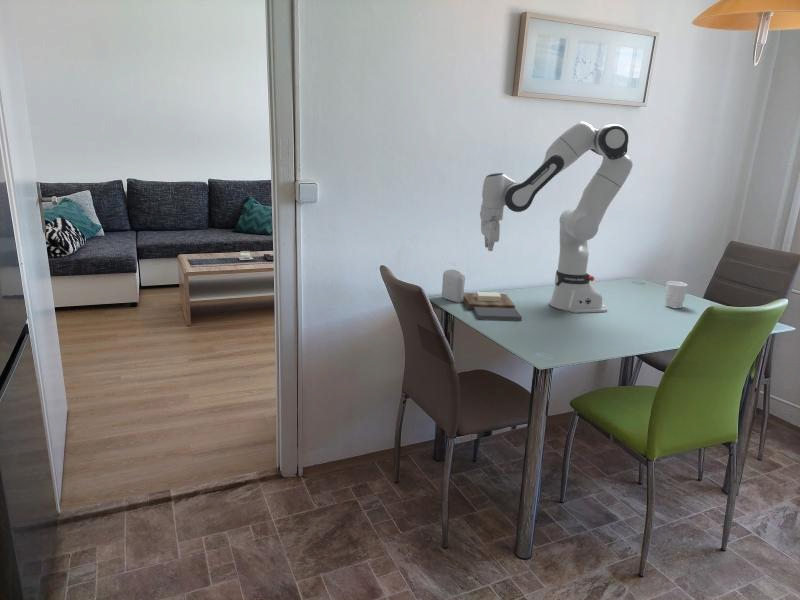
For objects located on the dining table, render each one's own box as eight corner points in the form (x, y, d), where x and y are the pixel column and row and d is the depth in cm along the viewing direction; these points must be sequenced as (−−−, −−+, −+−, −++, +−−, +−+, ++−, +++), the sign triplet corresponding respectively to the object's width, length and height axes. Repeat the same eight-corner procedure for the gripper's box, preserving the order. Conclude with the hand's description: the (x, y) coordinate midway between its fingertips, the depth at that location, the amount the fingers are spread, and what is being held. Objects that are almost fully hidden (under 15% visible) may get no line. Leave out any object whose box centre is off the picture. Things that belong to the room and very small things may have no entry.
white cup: (673, 303, 246) (677, 280, 244) (687, 308, 239) (692, 285, 236) (658, 304, 244) (662, 281, 241) (672, 309, 237) (676, 286, 234)
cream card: (497, 297, 235) (498, 292, 234) (501, 301, 229) (501, 296, 228) (475, 296, 234) (476, 291, 234) (478, 300, 228) (478, 295, 228)
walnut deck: (505, 300, 240) (506, 294, 240) (514, 311, 225) (515, 305, 224) (462, 298, 239) (463, 292, 239) (468, 310, 224) (468, 304, 223)
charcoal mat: (514, 311, 225) (515, 308, 224) (521, 320, 214) (521, 316, 214) (473, 310, 224) (474, 306, 223) (478, 319, 213) (478, 315, 213)
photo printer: (440, 297, 240) (441, 268, 237) (447, 296, 243) (449, 267, 239) (456, 303, 232) (459, 273, 229) (464, 302, 235) (467, 272, 231)
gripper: (505, 218, 220) (501, 254, 224) (494, 211, 240) (491, 244, 244) (488, 218, 220) (485, 254, 224) (479, 211, 239) (476, 244, 243)
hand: (488, 249), depth 234 cm, fingers open, 5 cm apart
